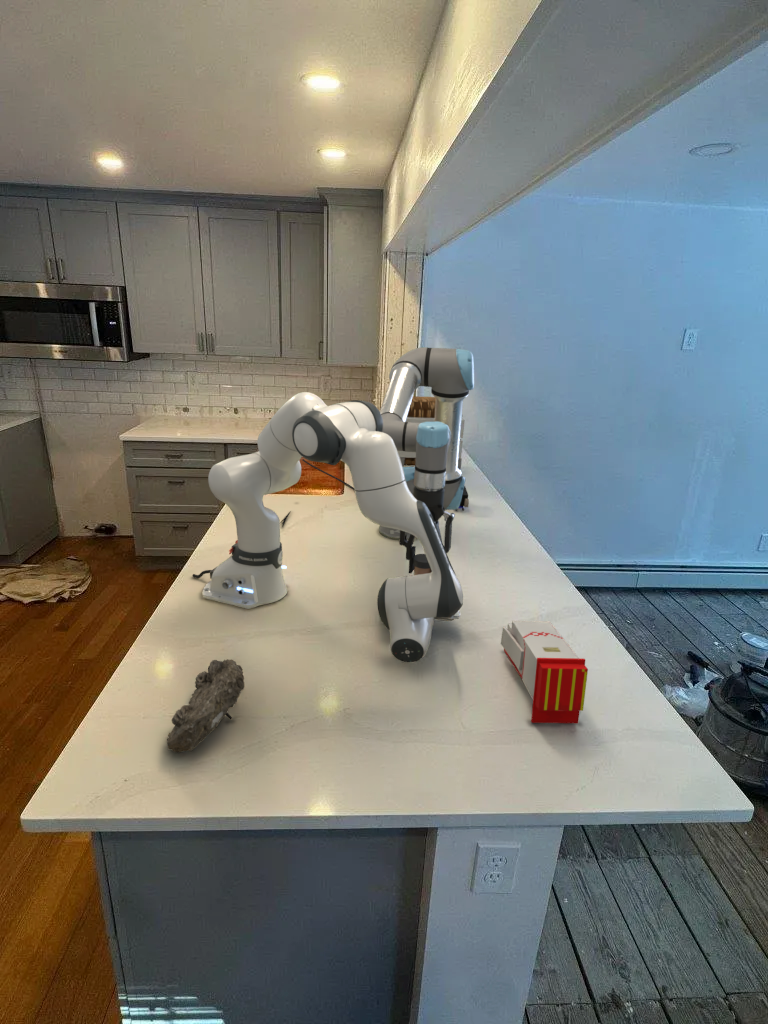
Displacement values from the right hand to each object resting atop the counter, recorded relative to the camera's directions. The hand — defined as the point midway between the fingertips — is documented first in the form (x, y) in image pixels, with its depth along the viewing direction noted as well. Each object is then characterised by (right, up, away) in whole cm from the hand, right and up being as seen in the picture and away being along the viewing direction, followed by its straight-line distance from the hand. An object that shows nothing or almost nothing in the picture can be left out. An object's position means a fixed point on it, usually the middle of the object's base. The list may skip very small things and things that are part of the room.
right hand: (422, 573), depth 145 cm
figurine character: (+20, +18, +85) cm, 89 cm away
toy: (+23, -21, -22) cm, 38 cm away
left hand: (0, -4, +3) cm, 5 cm away
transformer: (+7, +34, +130) cm, 134 cm away
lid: (0, +4, -1) cm, 4 cm away
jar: (0, -11, +4) cm, 11 cm away
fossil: (-43, -23, -37) cm, 61 cm away
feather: (-46, +15, +68) cm, 83 cm away
